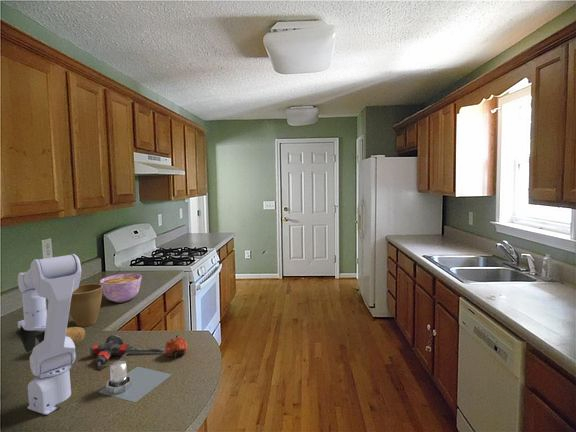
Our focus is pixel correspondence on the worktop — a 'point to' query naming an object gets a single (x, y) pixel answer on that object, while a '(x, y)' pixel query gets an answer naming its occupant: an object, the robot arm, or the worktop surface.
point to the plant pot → (86, 304)
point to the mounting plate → (140, 383)
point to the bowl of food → (121, 287)
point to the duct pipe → (118, 373)
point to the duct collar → (120, 388)
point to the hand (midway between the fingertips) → (38, 352)
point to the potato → (75, 334)
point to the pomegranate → (176, 347)
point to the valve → (118, 350)
